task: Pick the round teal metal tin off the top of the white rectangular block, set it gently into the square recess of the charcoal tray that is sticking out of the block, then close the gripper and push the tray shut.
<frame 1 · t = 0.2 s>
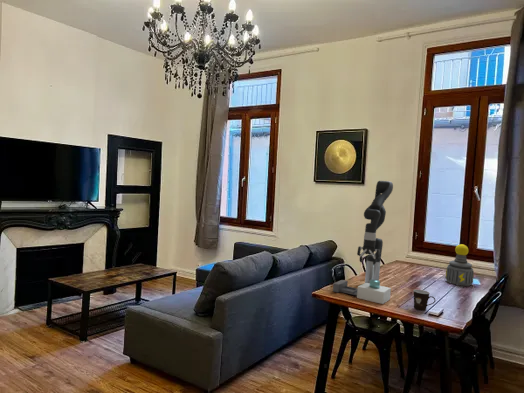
hand: (367, 263, 254), 17 cm above the table, tool pointing down, fingers open, 8 cm apart
decorative lamp: (458, 283, 293), on the table
white rectangular block: (373, 298, 234), on the table
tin: (374, 287, 234), point 7 cm above the table, touching white rectangular block
player tray: (351, 288, 242), point 3 cm above the table, slide at 12.0 cm
coffee mug: (421, 309, 219), on the table
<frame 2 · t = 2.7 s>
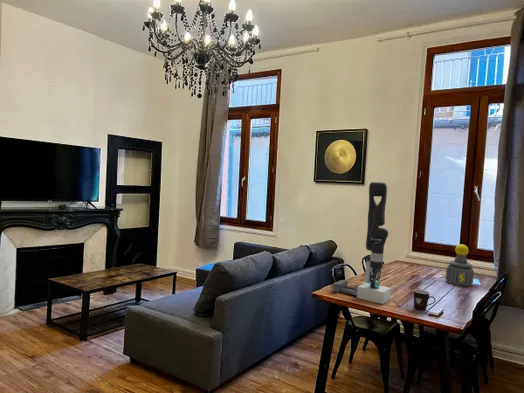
hand: (374, 287, 234), 7 cm above the table, tool pointing down, fingers closed on white rectangular block, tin, 6 cm apart
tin: (374, 287, 234), point 7 cm above the table, touching gripper
everything else where it was.
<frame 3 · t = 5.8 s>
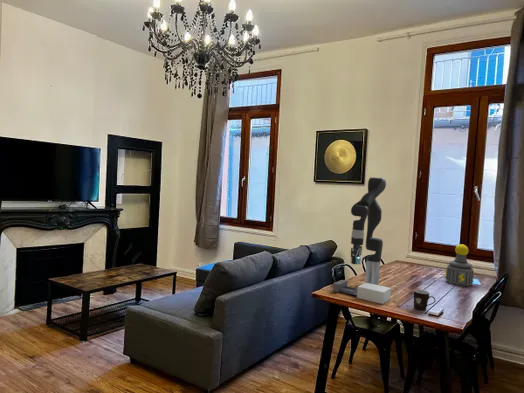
hand: (355, 263, 241), 20 cm above the table, tool pointing down, fingers closed on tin, 6 cm apart
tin: (355, 263, 241), point 19 cm above the table, touching gripper
everything else where it was.
when the fingers open (3 cm above the table, at t = 8.7 s): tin drops 1 cm, resting on player tray.
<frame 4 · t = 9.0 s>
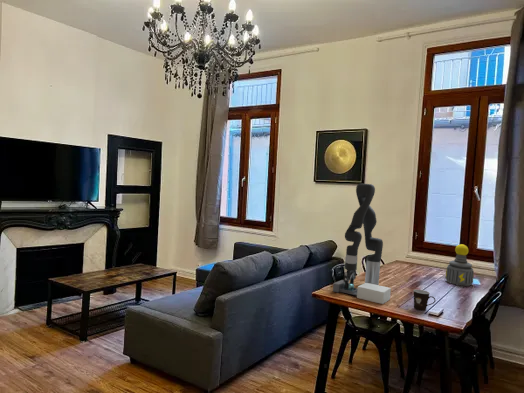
hand: (349, 287, 243), 3 cm above the table, tool pointing down, fingers open, 8 cm apart
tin: (348, 290, 243), point 2 cm above the table, touching player tray
player tray: (351, 288, 242), point 3 cm above the table, slide at 12.0 cm, touching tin
everything else where it was.
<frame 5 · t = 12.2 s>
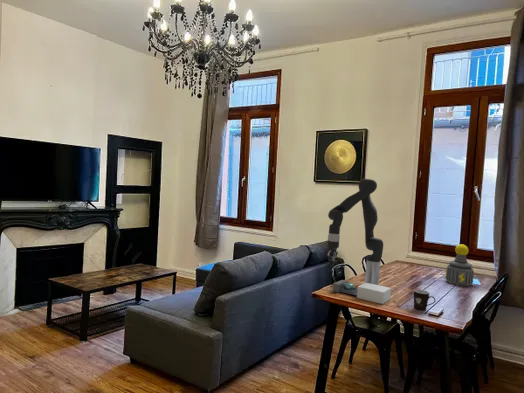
hand: (331, 266, 250), 14 cm above the table, tool pointing down, fingers closed
nothing on the table moved.
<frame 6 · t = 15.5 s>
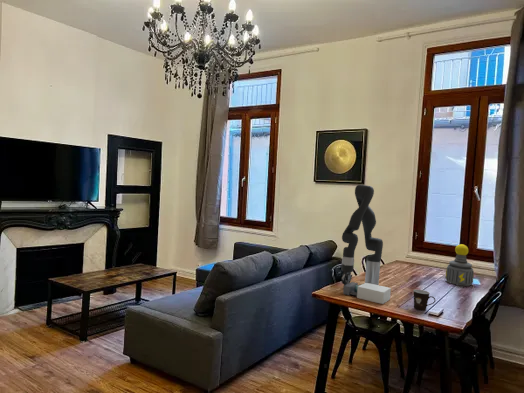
hand: (345, 290, 245), 1 cm above the table, tool pointing down, fingers closed
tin: (359, 292, 239), point 2 cm above the table, touching player tray
player tray: (361, 290, 239), point 3 cm above the table, slide at 5.1 cm, touching hand, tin
everything else where it was.
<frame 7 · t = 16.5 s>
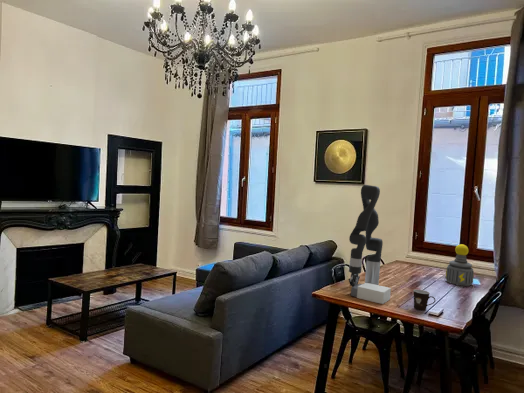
hand: (353, 292, 242), 1 cm above the table, tool pointing down, fingers closed
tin: (367, 294, 236), point 2 cm above the table, touching player tray
player tray: (369, 292, 236), point 3 cm above the table, slide at 0.0 cm, touching hand, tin
everything else where it was.
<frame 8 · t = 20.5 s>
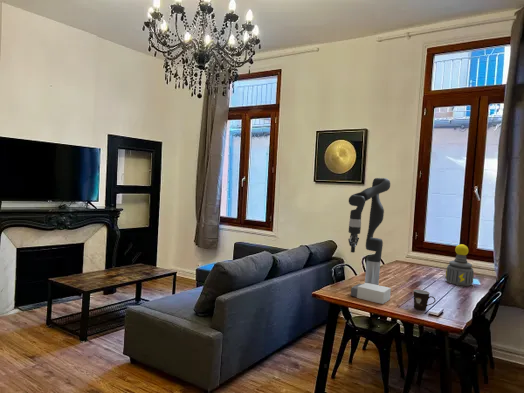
hand: (352, 252, 248), 25 cm above the table, tool pointing down, fingers closed
player tray: (369, 292, 236), point 3 cm above the table, slide at 0.0 cm, touching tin
everything else where it was.
at the end: player tray slide at 0.0 cm; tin inside the target area (4.2 cm from its centre), point 1.6 cm above the table; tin tilted 2° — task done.
